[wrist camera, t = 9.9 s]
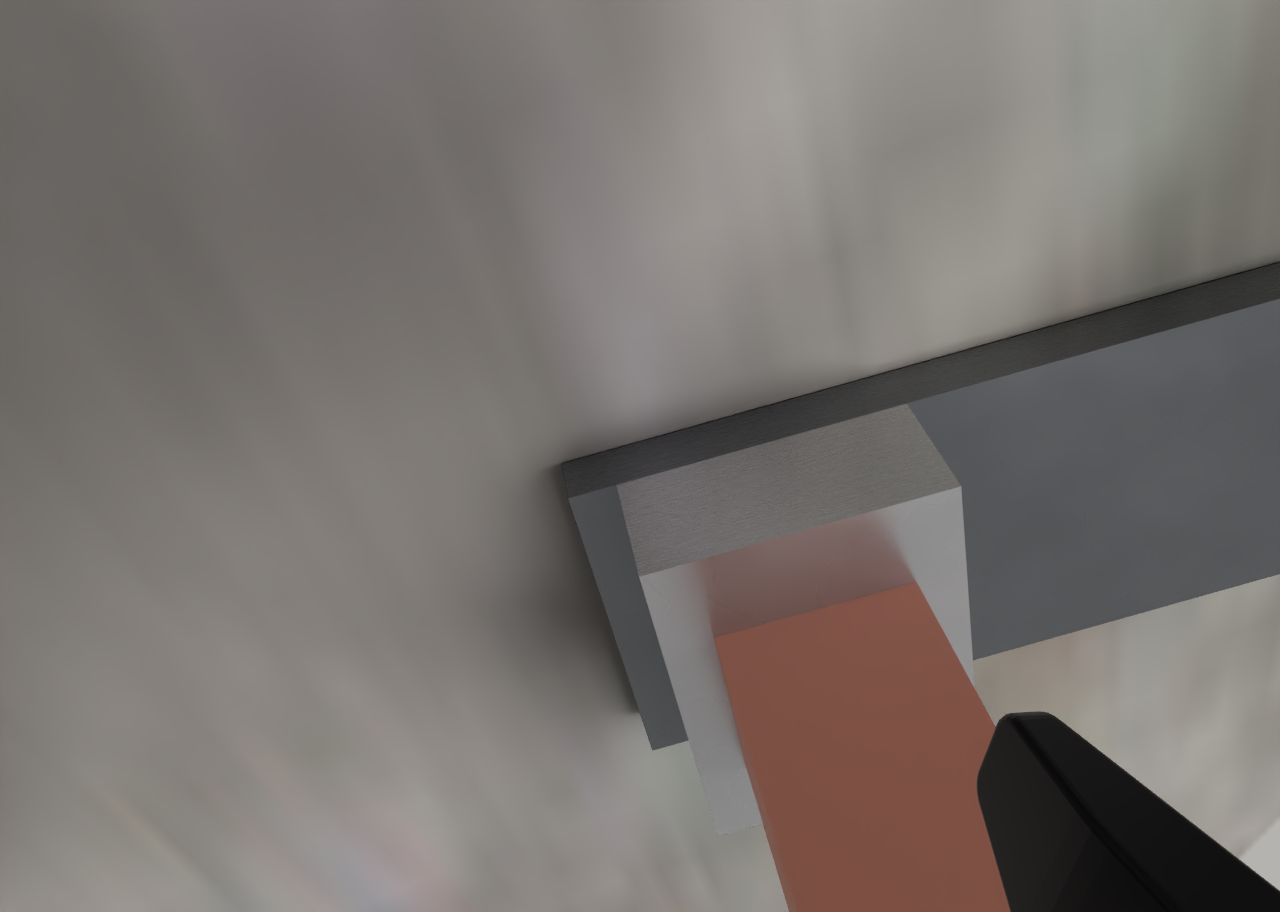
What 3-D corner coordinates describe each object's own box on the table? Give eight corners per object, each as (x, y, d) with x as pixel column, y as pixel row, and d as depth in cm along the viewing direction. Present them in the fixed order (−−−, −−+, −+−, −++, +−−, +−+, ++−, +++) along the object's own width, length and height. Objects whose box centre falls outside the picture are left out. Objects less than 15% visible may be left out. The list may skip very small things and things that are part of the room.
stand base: (644, 712, 28) (674, 849, 25) (561, 464, 24) (585, 591, 21) (1263, 539, 29) (1371, 652, 25) (1303, 255, 24) (1442, 351, 21)
